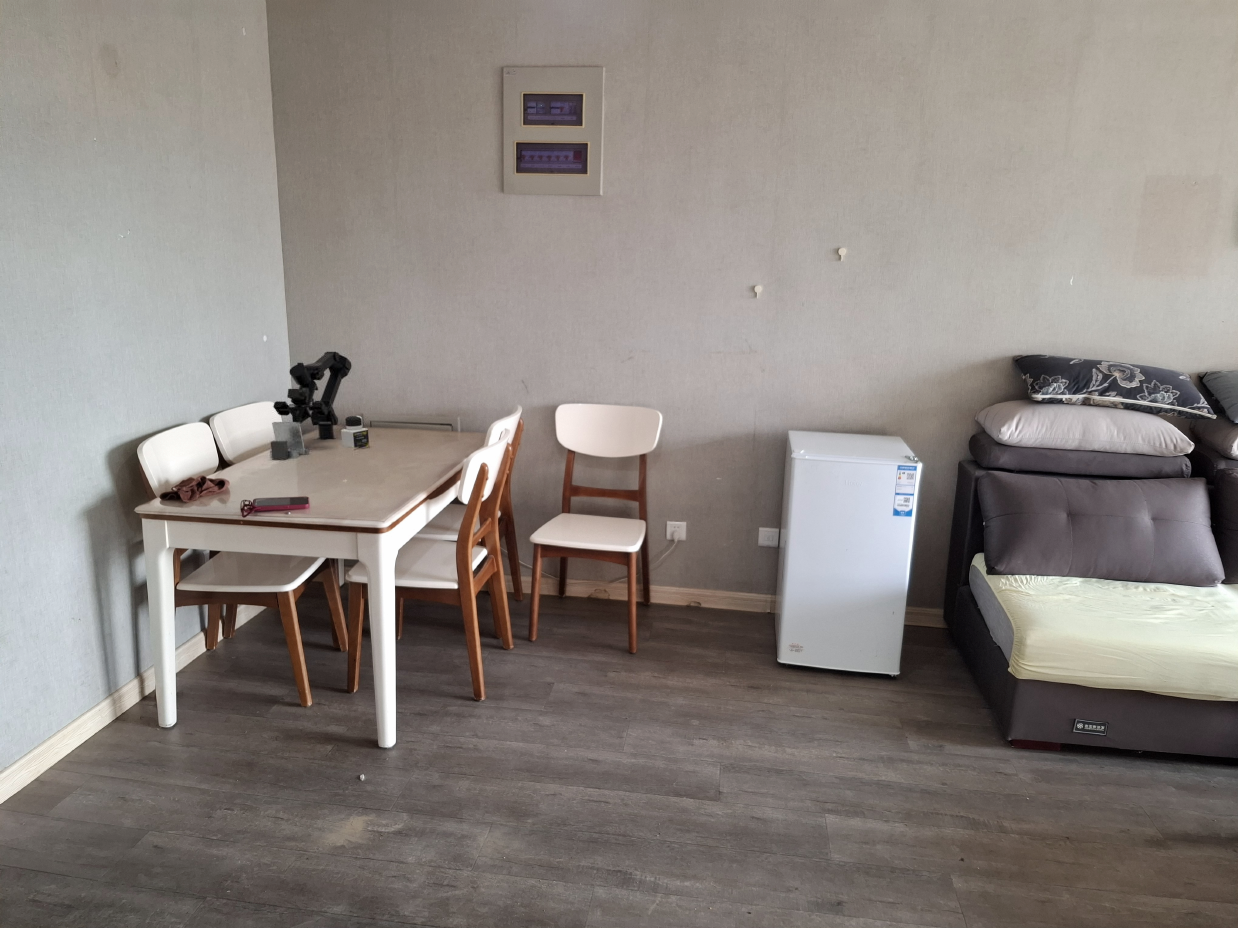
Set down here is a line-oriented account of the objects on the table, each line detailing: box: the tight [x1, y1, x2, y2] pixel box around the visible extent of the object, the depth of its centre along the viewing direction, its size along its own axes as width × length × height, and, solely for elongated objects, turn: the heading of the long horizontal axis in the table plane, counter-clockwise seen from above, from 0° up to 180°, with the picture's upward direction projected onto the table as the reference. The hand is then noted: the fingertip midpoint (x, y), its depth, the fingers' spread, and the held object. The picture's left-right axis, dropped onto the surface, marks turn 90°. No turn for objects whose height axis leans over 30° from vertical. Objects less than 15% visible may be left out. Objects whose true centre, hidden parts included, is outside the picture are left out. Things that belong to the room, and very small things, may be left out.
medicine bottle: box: [340, 415, 370, 451], centre depth 316 cm, size 7×7×12 cm
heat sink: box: [269, 440, 310, 461], centre depth 297 cm, size 10×13×7 cm
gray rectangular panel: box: [271, 421, 306, 455], centre depth 300 cm, size 12×10×1 cm
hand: (294, 427), depth 304 cm, fingers closed
